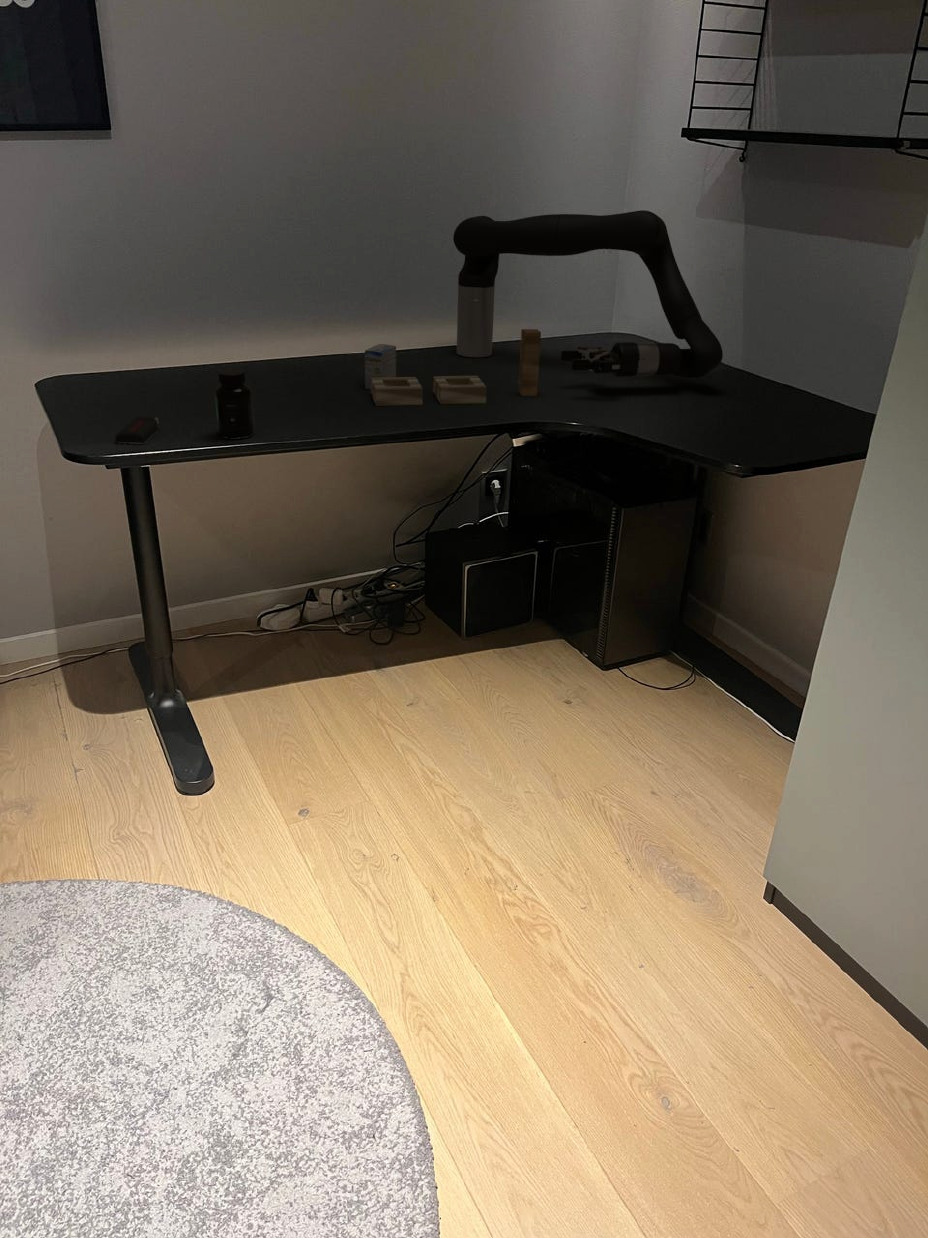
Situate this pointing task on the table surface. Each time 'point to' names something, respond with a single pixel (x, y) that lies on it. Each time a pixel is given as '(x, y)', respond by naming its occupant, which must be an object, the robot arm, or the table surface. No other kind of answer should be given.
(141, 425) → the usb drive
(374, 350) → the medicine box
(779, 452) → the table surface
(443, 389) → the end cap
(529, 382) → the tall brown wooden block
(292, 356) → the table surface
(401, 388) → the end cap
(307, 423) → the table surface
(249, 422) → the supplement bottle
